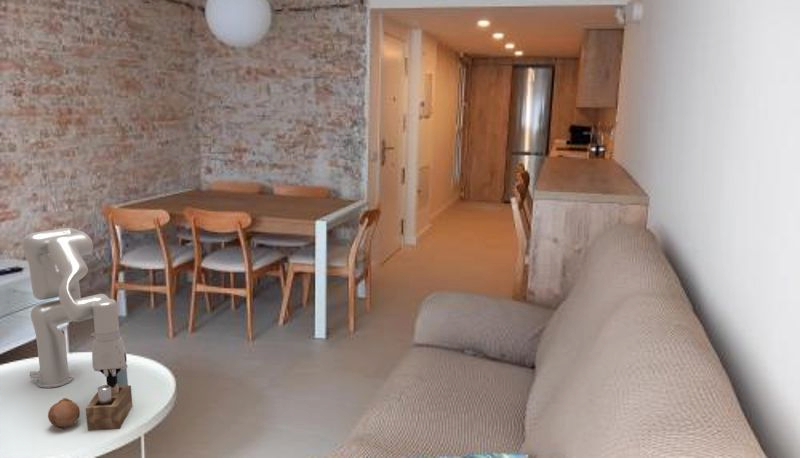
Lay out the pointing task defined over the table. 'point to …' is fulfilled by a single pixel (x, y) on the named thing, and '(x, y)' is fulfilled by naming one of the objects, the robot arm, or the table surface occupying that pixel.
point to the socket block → (109, 411)
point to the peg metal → (104, 395)
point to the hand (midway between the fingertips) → (112, 385)
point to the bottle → (122, 378)
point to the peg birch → (115, 389)
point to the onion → (64, 413)
